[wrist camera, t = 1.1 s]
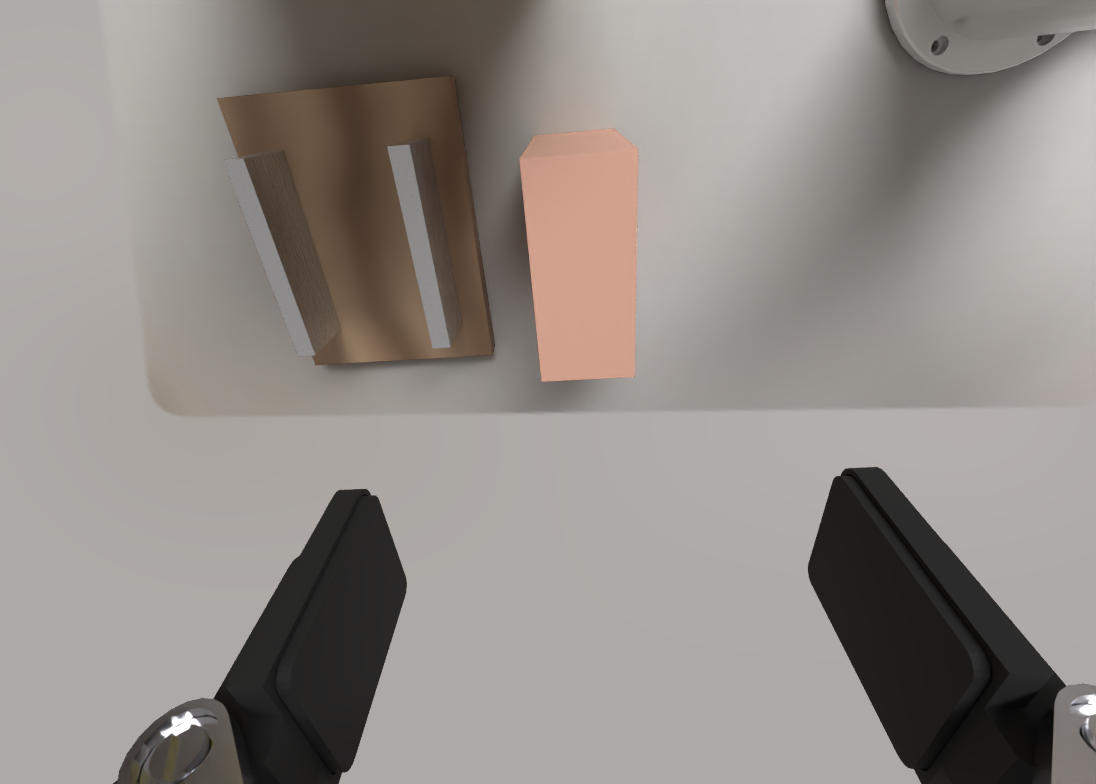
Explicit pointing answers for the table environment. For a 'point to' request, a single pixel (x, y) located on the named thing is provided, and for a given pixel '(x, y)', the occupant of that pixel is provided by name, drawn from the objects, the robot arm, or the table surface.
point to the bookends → (295, 259)
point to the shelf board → (373, 207)
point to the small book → (582, 251)
